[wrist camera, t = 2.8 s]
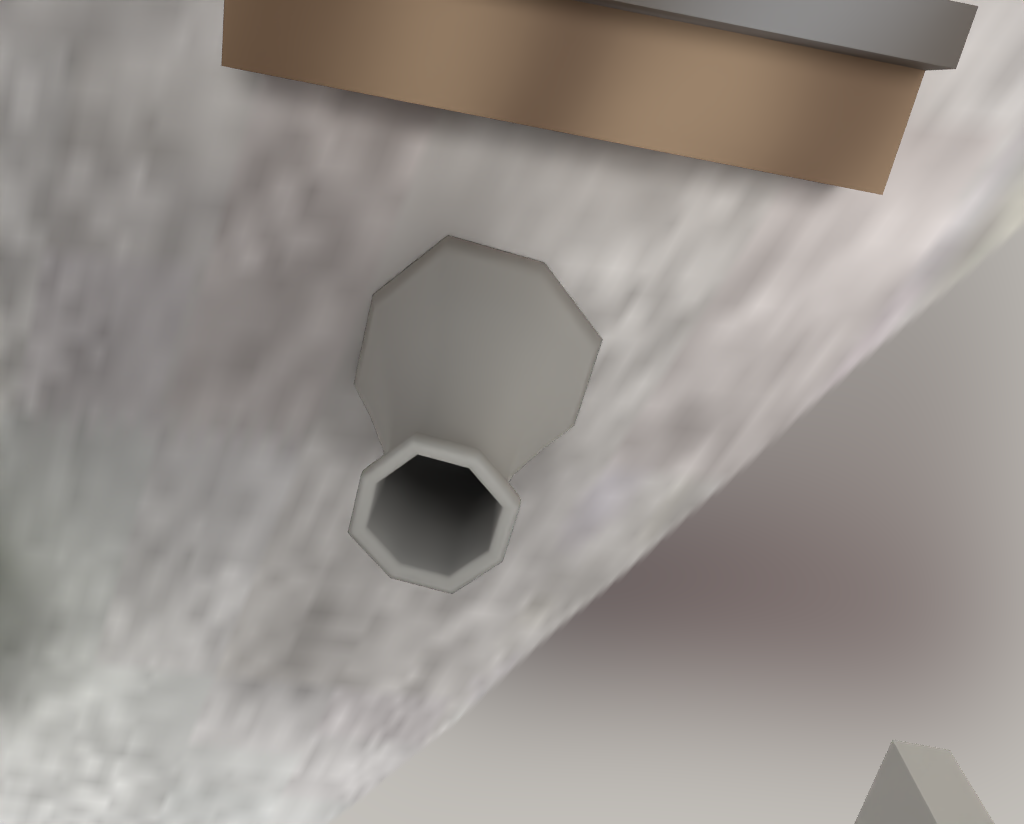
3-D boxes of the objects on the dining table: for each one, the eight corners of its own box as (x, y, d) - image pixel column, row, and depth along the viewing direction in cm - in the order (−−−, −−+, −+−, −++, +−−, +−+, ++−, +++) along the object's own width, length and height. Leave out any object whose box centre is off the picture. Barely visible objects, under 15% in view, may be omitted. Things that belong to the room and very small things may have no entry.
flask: (316, 386, 25) (181, 559, 16) (439, 188, 23) (362, 255, 14) (509, 505, 27) (487, 729, 17) (644, 329, 24) (703, 478, 15)
